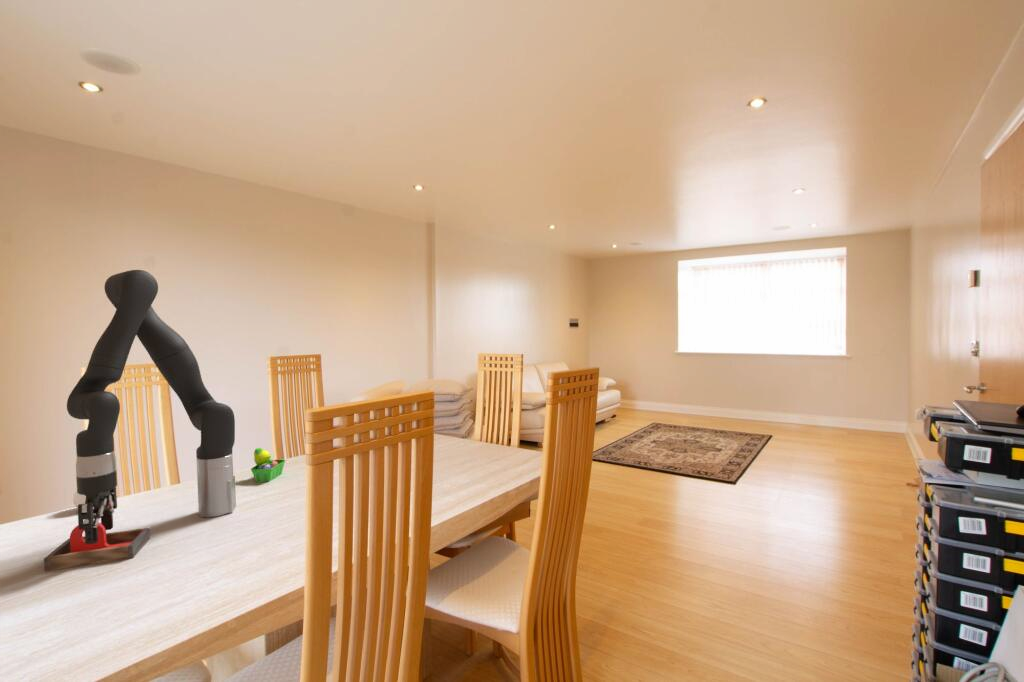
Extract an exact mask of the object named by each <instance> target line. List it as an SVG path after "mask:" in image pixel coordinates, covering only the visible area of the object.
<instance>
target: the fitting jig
mask: <svg viewBox="0 0 1024 682" xmlns="http://www.w3.org/2000/svg"><path fill="white" fill-rule="evenodd" d="M82 537H83V538H84V539H85V535H84V536H82ZM150 539H151V534H150V527H145V528H138V529H137V528H136V529H130V530H129V529H128V530H124V531H123V530H122V531H116V532H115V531H114V532H106V541H107V543H108V544H109V545H114V544H122V543H129V542H132V543H131V544H130V545H124V546H117V547H110V548H103V549H96V550H89V551H82V552H75V553H70V552H71V551H70V537H69V538H68V539H66V540H65V541H64V542H63V543H62V544H60V545H59V546H58V547H56V548H55V549H54V550H53V551H51V552H50V553H49V554H47V555H46V556H44V557H43V565H44V568H43V569H44V572H49V571H54V570H55V571H56V570H62V569H67V568H68V569H69V568H74V567H81V566H87V565H93V564H101V563H107V562H114V561H120V560H121V561H122V560H129V559H134V557H136V555H137V554H139V552H140V551H141V550H142V548H143V547H144V546H145V545H146V544H147V543H148V542H149V540H150Z"/></svg>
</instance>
